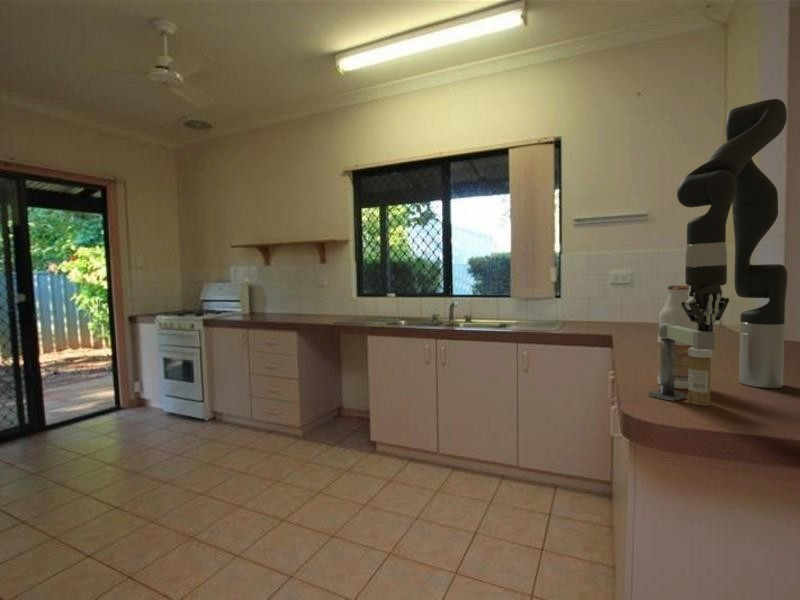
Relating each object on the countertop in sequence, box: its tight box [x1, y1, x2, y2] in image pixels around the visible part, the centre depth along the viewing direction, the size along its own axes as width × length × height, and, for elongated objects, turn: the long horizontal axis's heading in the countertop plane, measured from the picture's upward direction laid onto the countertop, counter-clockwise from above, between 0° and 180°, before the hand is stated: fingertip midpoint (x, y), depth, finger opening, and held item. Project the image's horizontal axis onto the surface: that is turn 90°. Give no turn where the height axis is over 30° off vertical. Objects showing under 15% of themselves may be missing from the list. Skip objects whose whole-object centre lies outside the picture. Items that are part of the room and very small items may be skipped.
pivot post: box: [648, 338, 687, 402], centre depth 106 cm, size 6×6×15 cm
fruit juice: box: [656, 284, 698, 390], centre depth 117 cm, size 9×9×28 cm
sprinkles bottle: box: [687, 347, 713, 407], centre depth 100 cm, size 5×5×14 cm
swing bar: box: [658, 323, 716, 351], centre depth 98 cm, size 20×4×4 cm, turn 170°
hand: (705, 340), depth 95 cm, fingers closed
